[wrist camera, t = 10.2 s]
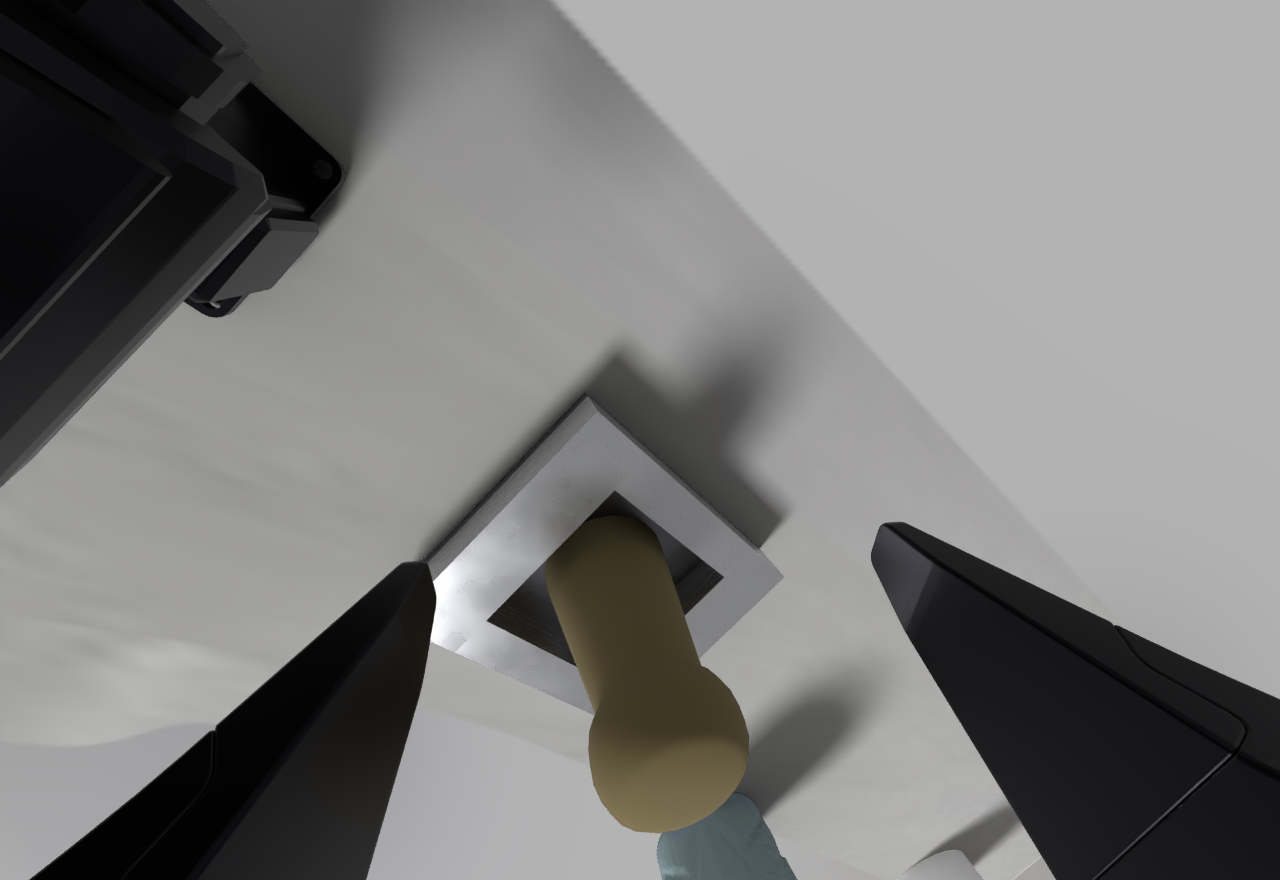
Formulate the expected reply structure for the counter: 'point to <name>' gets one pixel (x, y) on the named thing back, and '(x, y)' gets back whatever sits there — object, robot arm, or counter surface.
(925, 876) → the honey pot
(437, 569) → the socket plate
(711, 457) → the counter surface
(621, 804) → the cork
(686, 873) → the teal cup
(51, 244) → the robot arm
